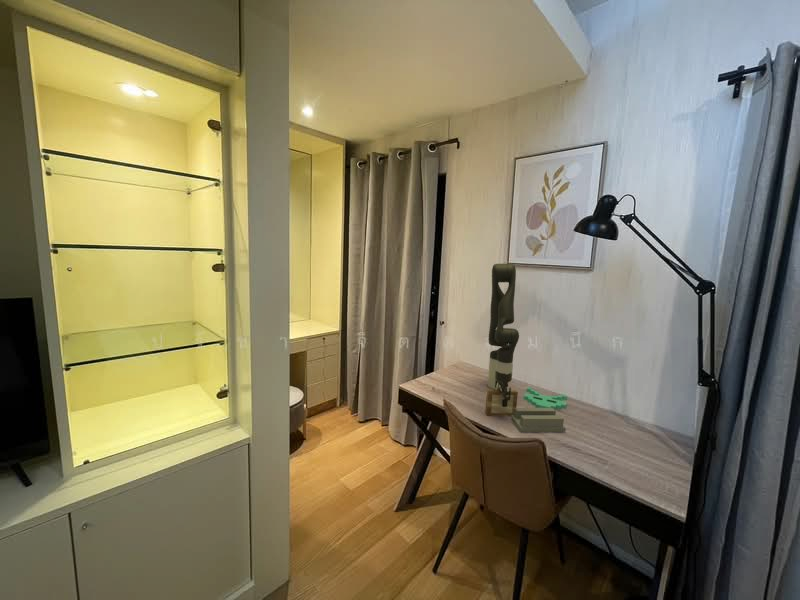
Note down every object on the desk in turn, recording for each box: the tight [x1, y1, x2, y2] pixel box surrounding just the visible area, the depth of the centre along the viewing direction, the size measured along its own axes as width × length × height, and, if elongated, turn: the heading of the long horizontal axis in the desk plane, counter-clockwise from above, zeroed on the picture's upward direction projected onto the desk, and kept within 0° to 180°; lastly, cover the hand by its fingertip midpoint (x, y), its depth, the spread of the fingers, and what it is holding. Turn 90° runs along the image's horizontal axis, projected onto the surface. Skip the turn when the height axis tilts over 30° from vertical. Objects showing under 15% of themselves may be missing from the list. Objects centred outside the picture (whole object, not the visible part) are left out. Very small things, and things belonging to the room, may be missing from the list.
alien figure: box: [523, 386, 568, 411], centre depth 177 cm, size 20×2×20 cm
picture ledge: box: [510, 407, 567, 433], centre depth 152 cm, size 11×20×6 cm, turn 93°
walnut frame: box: [484, 389, 519, 417], centre depth 161 cm, size 3×14×12 cm, turn 93°
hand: (501, 402), depth 161 cm, fingers open, 8 cm apart
